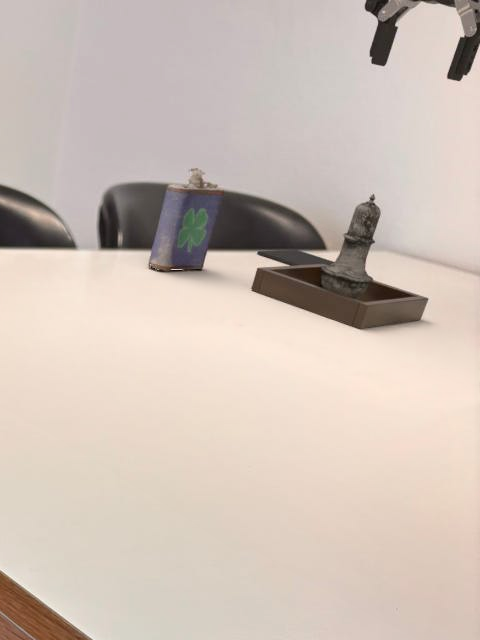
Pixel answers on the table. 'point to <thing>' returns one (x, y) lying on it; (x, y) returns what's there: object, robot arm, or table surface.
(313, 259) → the mat
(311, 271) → the tray
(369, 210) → the salt shaker
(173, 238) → the flask
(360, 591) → the table surface
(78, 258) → the table surface
